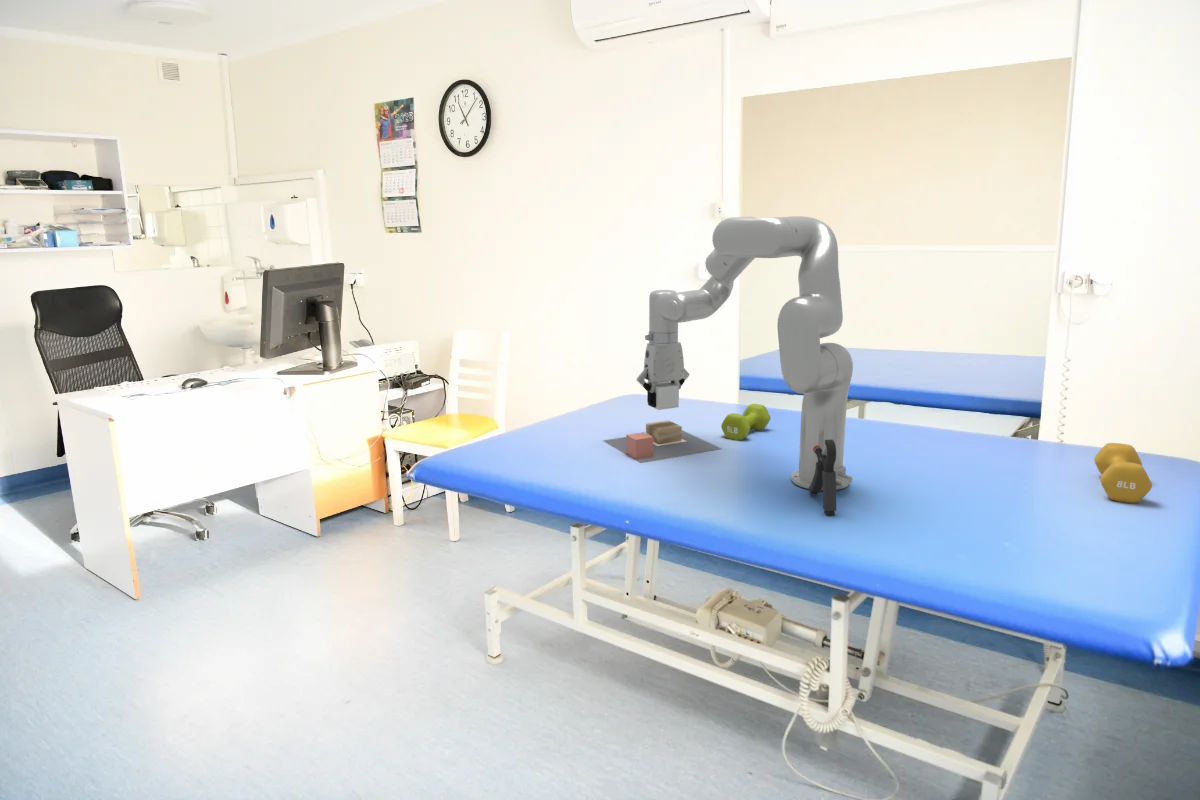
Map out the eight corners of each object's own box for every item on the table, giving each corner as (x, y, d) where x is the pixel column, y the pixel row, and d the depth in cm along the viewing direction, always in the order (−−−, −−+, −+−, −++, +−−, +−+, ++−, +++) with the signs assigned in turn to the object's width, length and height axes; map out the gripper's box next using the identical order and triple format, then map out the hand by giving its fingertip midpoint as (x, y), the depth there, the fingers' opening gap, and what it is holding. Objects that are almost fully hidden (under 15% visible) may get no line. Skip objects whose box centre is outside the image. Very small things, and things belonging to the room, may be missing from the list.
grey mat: (723, 450, 200) (723, 449, 199) (640, 464, 190) (640, 463, 190) (679, 430, 219) (679, 428, 219) (602, 442, 209) (602, 440, 209)
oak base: (681, 440, 207) (681, 426, 206) (658, 444, 205) (658, 429, 204) (668, 434, 214) (668, 420, 213) (646, 437, 211) (645, 423, 210)
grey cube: (678, 407, 206) (678, 385, 204) (658, 410, 203) (658, 387, 202) (667, 402, 211) (667, 380, 209) (647, 405, 208) (647, 383, 207)
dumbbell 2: (1091, 473, 178) (1096, 439, 176) (1138, 479, 174) (1144, 444, 172) (1097, 500, 162) (1102, 463, 160) (1150, 507, 158) (1156, 469, 156)
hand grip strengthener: (817, 494, 168) (820, 427, 165) (836, 516, 156) (840, 444, 153) (807, 494, 168) (810, 427, 165) (825, 516, 156) (829, 445, 153)
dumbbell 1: (745, 444, 205) (745, 418, 204) (718, 439, 210) (718, 413, 208) (772, 430, 218) (773, 405, 216) (746, 425, 223) (747, 401, 221)
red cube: (653, 456, 195) (653, 437, 194) (635, 459, 193) (635, 439, 192) (643, 450, 199) (643, 432, 198) (626, 453, 197) (626, 434, 196)
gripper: (641, 342, 196) (641, 411, 200) (699, 337, 203) (698, 404, 207) (627, 338, 202) (627, 405, 207) (684, 333, 209) (683, 398, 214)
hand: (663, 404), depth 207 cm, fingers closed on grey cube, 6 cm apart
